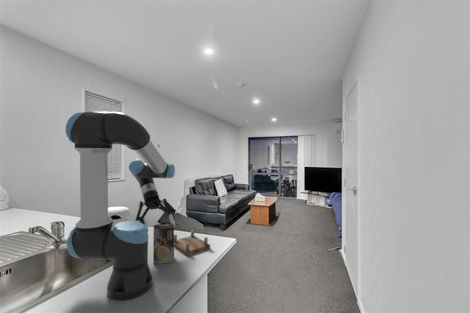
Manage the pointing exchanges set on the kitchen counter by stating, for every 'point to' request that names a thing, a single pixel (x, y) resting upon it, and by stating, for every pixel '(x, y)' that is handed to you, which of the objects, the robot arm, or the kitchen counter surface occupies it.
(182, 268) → the kitchen counter surface
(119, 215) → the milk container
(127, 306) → the kitchen counter surface
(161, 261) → the coffee box
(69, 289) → the kitchen counter surface
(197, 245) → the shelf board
